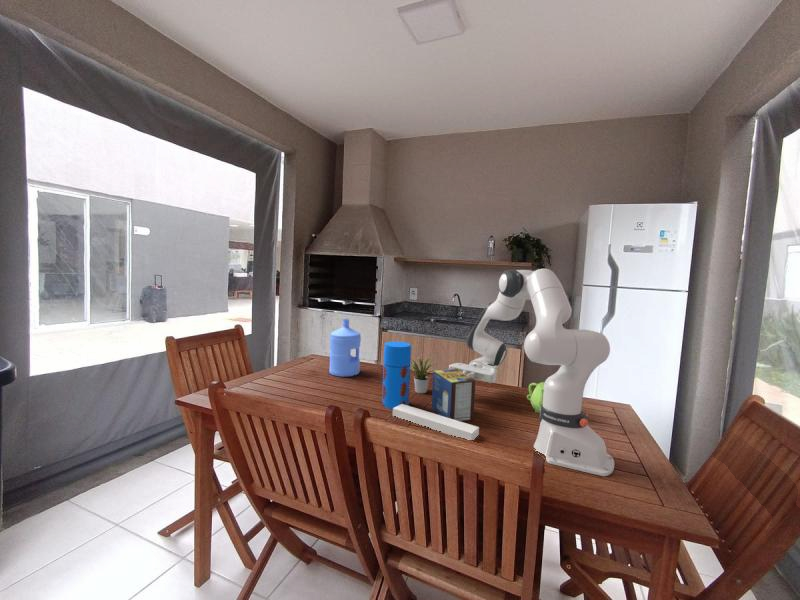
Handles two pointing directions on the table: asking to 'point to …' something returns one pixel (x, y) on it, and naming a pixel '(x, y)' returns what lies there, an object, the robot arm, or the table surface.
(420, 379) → the house plant
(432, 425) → the board
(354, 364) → the water jug
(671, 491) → the table surface
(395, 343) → the thermos
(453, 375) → the protein box
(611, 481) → the table surface
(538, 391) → the teapot
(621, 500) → the table surface
